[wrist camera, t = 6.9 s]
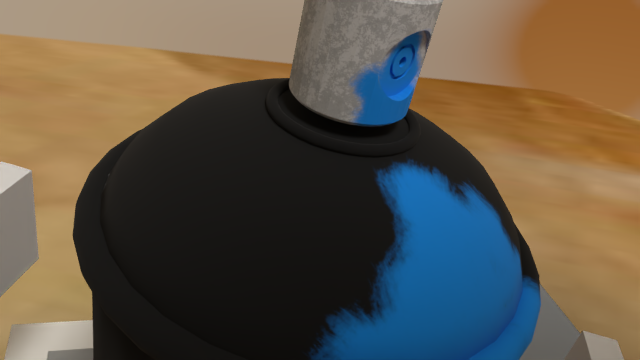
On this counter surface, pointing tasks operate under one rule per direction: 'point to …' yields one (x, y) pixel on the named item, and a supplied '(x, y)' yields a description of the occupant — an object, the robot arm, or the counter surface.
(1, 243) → the robot arm
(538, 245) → the counter surface
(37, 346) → the white open tray
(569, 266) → the counter surface
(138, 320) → the aerosol can
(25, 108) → the counter surface
